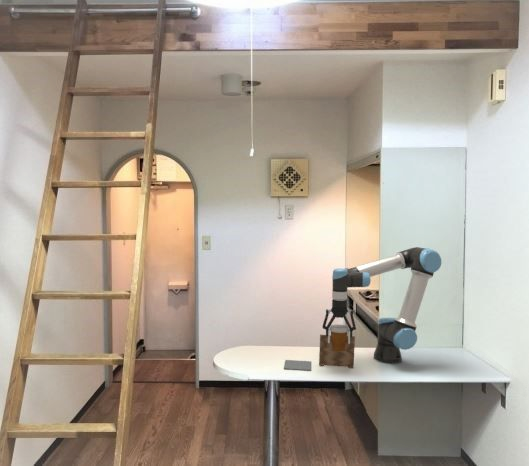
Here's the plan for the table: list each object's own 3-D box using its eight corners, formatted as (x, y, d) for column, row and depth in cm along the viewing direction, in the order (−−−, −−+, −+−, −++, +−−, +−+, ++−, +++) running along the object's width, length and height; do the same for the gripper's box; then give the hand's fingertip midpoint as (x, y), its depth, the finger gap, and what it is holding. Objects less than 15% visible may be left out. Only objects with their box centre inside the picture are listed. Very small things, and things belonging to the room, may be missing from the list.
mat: (311, 362, 260) (311, 361, 260) (311, 371, 247) (311, 369, 246) (285, 360, 262) (285, 359, 262) (283, 369, 248) (283, 368, 248)
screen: (353, 365, 258) (354, 335, 257) (353, 368, 253) (355, 337, 252) (318, 363, 260) (320, 333, 259) (319, 366, 255) (320, 336, 254)
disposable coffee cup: (347, 353, 243) (348, 329, 243) (328, 351, 245) (329, 328, 244) (348, 347, 253) (348, 324, 252) (329, 346, 254) (330, 323, 254)
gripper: (361, 298, 250) (360, 341, 251) (317, 297, 252) (316, 339, 253) (362, 301, 243) (361, 345, 244) (317, 300, 245) (317, 343, 246)
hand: (338, 342), depth 249 cm, fingers closed on disposable coffee cup, 9 cm apart
